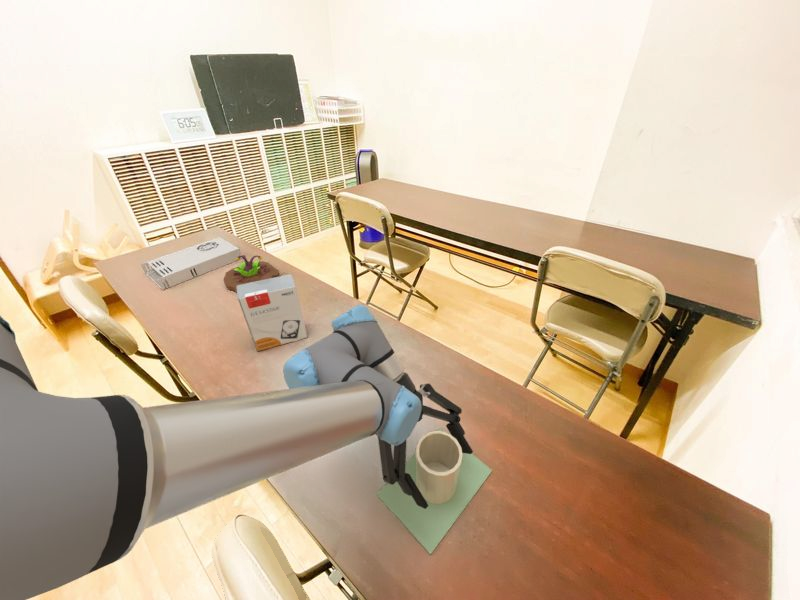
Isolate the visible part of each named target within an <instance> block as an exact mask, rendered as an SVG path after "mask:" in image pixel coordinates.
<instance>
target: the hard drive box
mask: <svg viewBox="0 0 800 600" xmlns="http://www.w3.org/2000/svg"><path fill="white" fill-rule="evenodd" d="M236 288H237V293H236V295H237V301H238V304H239V307H240V310H241V312H242V314H243V317H244V320H245V323H246V325H247V328H248V330H249V333H250V336H251V339H252V341H253V344H254V348H255V350H256V352H260V351H263V350H270V349H272V348H275V347H278V346H282V345H285V344H289V343H293V342H296V341H300V340H304V339H307V338H308V333H307V329H306V324H305V321H304V316H303V311H302V307H301V302H300V299H299V294H298V290H297V287H296V283H295V279H294V276H293V274H292V273H290V274H285V275H279V277H275V278H270V279H265V280H261V281H256V282H251V283H246V284H242V285H237V287H236Z"/></svg>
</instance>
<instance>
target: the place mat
mask: <svg viewBox="0 0 800 600" xmlns="http://www.w3.org/2000/svg"><path fill="white" fill-rule="evenodd" d="M437 431H443V432H445V431H444V430H443V429H442V428H441V427H440V428H438V429H437ZM462 454H463V457H462V463H461V468H460V473H459V478H458V484H457V488H456V492H455V494H454V496H453V497H452V498H451V499H450V500H449V501H447V502H445V503H442V504H433V503H430V502H428V501H426V500H425V501H426V502H427V504H428V507H427V508H426V509H424V508H422V507H420V506H418V505H417V504H416V502H415V501H414V499H413V497H412V496H409V495H406V494H405V493H404V492H403V491H402V489H401V487H400V486H399V484H398V482H395V484H393V485H391V484H389V483H386V484H384V486H383V487H382V488H381V489H379V490H378V492H376V496H377V497H378V498H379V499H380V500H381V501H382V503H383V504H384V505H385V506H386V507H387V508H388V509H389V510H390V511H391V513H392V514H393V515H394V516H395V517H396V518H397V519H398V521H400V523H401V524H402V525H403V526H404V527H405V528H406V529H407V531H408V532H409V533H410V534H411V535H412V536H413V538H414V539H415V540H416V541H417V542H418V543H419V544H420V545H421V546H422V548H423V549H424V550H425V551H426V552H427V553H428V554H429V555H430V556H431V555H432V554H433V552H434V551H435V550H436V549H437V547H438V546H439V544H440V543H441V541H442V540H443V539H444V538H445V536H446V535H447V533H448V532H449V531H450V529H451V528H452V527H453V525H454V524H455V522H457V520H458V519H459V517H460V516H461V515H462V513H463V512H464V510H465V509H466V507H467V506H468V505H469V504H470V502H471V501H472V499H473V498H474V497H475V495H476V494H477V493H478V491H479V490H480V488H481V487H482V486H483V485H484V483H485V482H486V480H487V479H488V478H489V476H490V475H491V474H492V472H493V469H492V468H490V467H489V466H488V465H487V464H486V463H484V462H483V461H482V460H480V459H479V457H477V456H475V454H473V452H472V453H471V454H466V453H462ZM415 467H416V453H414V454H413V455H412V456H411V457H410V458H409V459H408V460H407V462H406V463H405V473H408V474H410V476H411V477H412V479H413V481H414V482H415ZM415 484H416V483H415Z"/></svg>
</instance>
